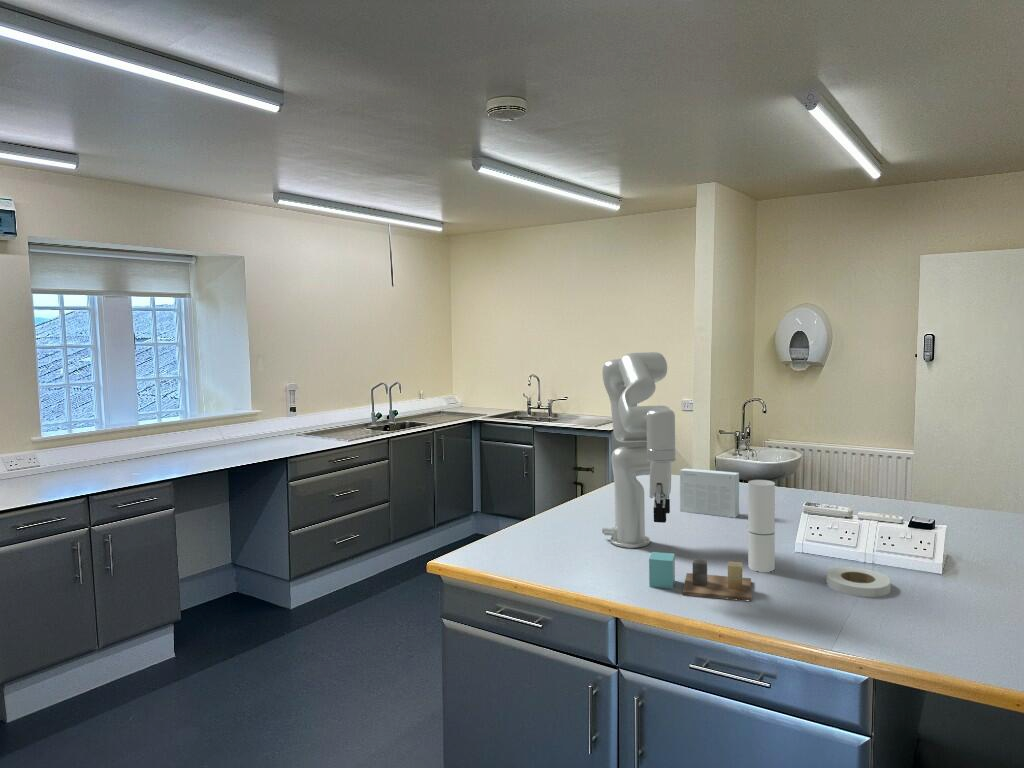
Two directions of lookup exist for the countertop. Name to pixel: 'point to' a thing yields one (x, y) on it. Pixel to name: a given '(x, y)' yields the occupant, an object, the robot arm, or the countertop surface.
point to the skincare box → (709, 492)
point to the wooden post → (735, 575)
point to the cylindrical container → (761, 525)
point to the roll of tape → (844, 576)
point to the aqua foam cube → (662, 570)
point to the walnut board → (713, 584)
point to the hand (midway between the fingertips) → (662, 517)
